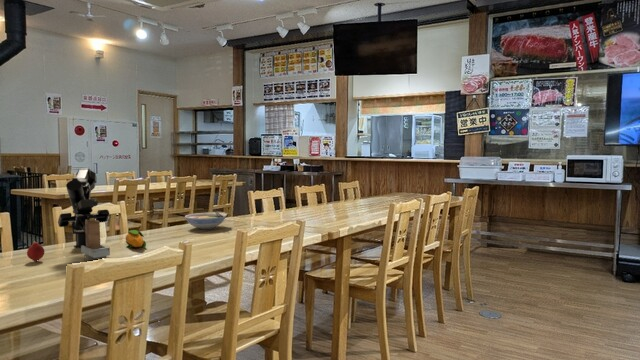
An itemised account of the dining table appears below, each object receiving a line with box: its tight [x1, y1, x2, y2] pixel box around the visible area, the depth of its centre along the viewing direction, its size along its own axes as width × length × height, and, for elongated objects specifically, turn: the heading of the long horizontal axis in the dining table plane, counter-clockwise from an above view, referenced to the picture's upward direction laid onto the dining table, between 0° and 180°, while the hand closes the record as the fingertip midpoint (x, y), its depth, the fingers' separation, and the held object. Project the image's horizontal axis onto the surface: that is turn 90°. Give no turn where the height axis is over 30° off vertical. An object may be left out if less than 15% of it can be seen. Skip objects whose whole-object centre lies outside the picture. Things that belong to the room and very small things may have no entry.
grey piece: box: [80, 244, 111, 261], centre depth 184 cm, size 14×8×5 cm, turn 46°
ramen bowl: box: [184, 211, 228, 230], centre depth 254 cm, size 25×23×8 cm
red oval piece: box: [26, 241, 45, 262], centre depth 180 cm, size 6×6×8 cm
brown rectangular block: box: [85, 218, 101, 249], centre depth 185 cm, size 5×4×12 cm
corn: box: [125, 229, 147, 249], centre depth 206 cm, size 7×8×20 cm
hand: (90, 233), depth 187 cm, fingers closed, pressing on brown rectangular block
